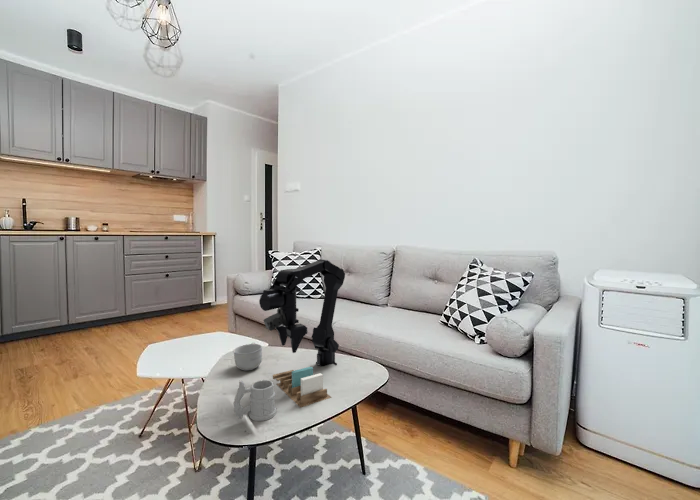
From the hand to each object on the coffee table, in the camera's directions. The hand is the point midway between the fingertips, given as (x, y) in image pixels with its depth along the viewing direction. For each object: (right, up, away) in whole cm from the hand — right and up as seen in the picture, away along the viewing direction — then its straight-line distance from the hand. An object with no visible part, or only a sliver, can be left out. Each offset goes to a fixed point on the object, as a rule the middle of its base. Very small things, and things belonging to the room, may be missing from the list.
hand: (288, 348), depth 121 cm
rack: (+6, -13, -8) cm, 16 cm away
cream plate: (+10, -12, -14) cm, 21 cm away
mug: (-5, -14, -23) cm, 28 cm away
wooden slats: (-2, -12, +3) cm, 12 cm away
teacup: (-18, -11, +15) cm, 26 cm away
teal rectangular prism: (+6, -11, -8) cm, 15 cm away
